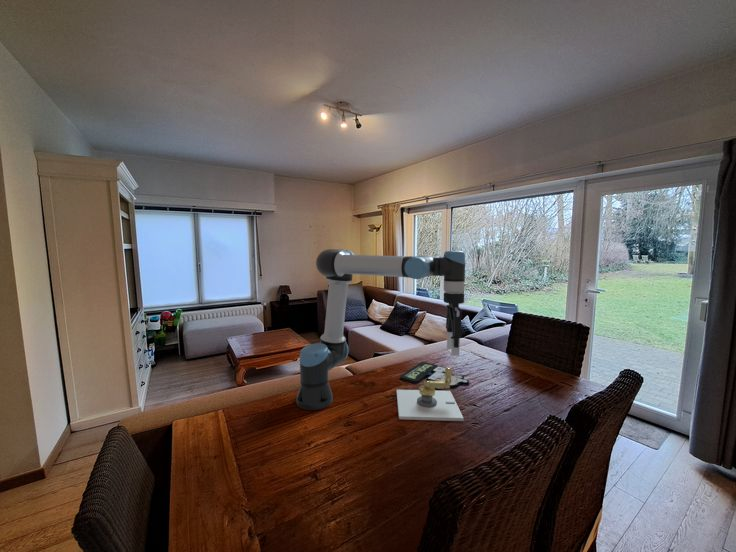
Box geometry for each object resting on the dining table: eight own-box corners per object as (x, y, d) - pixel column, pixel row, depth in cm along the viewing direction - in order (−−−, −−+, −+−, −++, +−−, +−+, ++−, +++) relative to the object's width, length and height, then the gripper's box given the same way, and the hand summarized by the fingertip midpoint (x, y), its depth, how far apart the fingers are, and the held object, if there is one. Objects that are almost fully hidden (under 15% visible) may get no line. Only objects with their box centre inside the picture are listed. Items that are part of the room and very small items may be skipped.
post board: (399, 419, 112) (399, 406, 112) (396, 392, 134) (396, 381, 133) (463, 421, 111) (463, 408, 110) (450, 393, 133) (450, 382, 132)
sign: (422, 361, 168) (476, 374, 150) (422, 364, 168) (475, 377, 150) (397, 377, 147) (456, 394, 129) (397, 380, 147) (456, 398, 129)
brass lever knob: (420, 396, 119) (420, 370, 118) (418, 389, 125) (418, 364, 124) (452, 397, 118) (453, 371, 117) (449, 389, 124) (449, 365, 124)
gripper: (472, 296, 101) (470, 361, 103) (457, 289, 121) (456, 343, 123) (449, 295, 101) (448, 361, 103) (438, 288, 121) (438, 343, 123)
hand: (452, 351), depth 113 cm, fingers open, 7 cm apart
